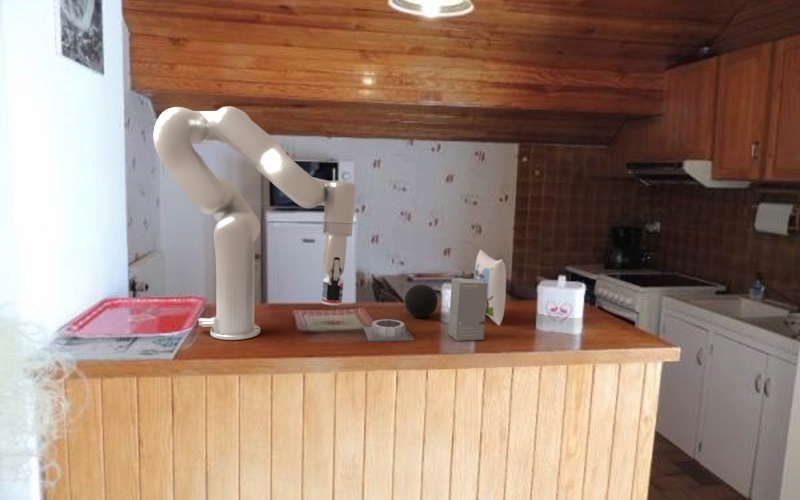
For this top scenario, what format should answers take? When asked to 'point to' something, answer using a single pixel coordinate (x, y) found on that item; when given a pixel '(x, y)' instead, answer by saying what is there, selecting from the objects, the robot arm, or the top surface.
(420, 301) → the speaker
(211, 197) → the robot arm
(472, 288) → the skincare box
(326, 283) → the pill bottle
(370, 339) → the plate
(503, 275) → the pouch
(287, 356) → the top surface
